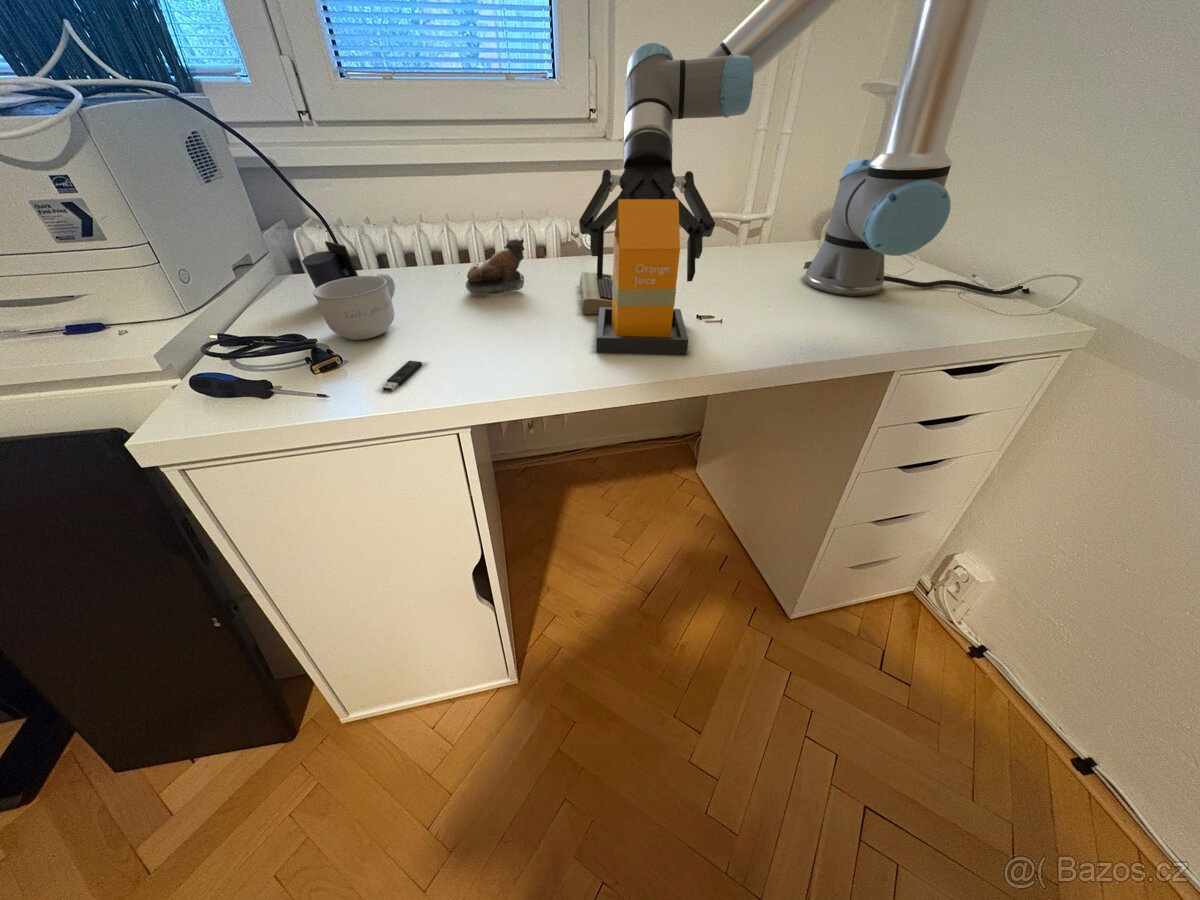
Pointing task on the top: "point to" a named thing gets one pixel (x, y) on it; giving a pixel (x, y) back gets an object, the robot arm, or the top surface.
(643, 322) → the orange juice
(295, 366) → the top surface
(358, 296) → the teacup
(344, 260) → the speaker
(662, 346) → the dark gray rectangular tray
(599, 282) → the computer
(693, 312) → the top surface
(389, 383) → the usb flash drive
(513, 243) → the bison figurine
